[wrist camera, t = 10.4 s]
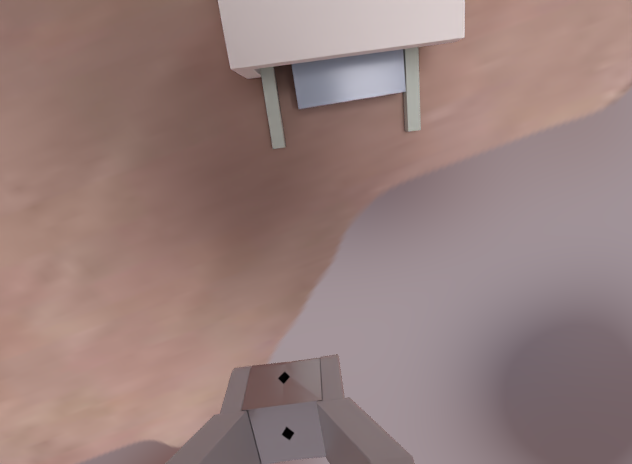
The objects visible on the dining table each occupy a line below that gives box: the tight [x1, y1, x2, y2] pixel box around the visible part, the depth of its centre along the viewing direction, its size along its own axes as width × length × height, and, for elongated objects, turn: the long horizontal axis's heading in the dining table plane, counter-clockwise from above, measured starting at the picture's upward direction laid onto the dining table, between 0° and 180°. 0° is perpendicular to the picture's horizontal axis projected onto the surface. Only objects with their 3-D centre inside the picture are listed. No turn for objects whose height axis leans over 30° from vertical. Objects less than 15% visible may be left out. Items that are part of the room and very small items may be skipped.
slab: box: [291, 49, 406, 110], centre depth 26 cm, size 10×8×3 cm
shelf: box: [218, 0, 465, 149], centre depth 24 cm, size 15×14×6 cm
